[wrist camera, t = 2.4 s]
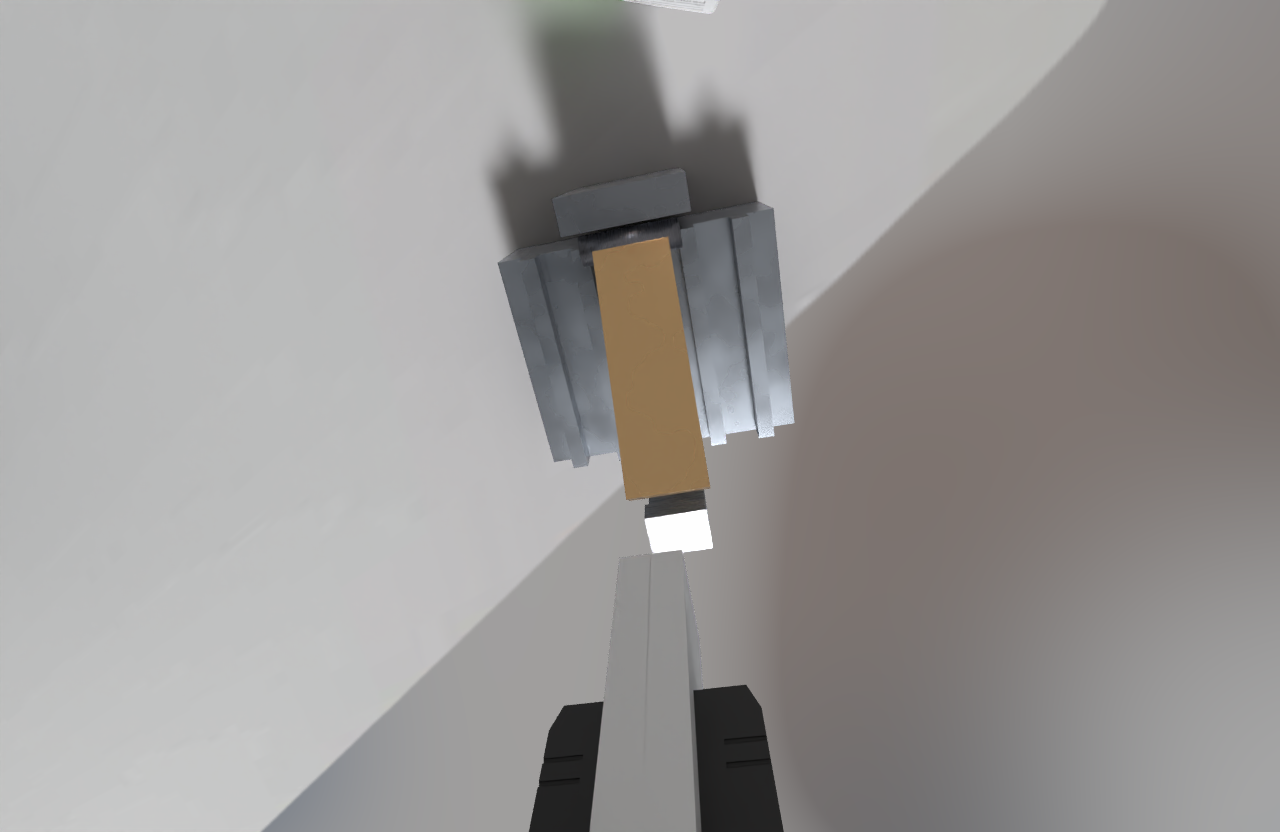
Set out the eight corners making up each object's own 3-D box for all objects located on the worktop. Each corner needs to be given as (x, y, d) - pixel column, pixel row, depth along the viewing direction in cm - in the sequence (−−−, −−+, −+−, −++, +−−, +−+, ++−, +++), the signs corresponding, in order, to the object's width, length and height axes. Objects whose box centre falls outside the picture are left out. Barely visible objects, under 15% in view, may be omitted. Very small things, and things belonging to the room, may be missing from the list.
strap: (617, 502, 22) (612, 501, 21) (583, 245, 24) (576, 231, 23) (723, 486, 22) (724, 484, 21) (679, 226, 24) (676, 210, 23)
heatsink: (571, 451, 34) (537, 572, 24) (504, 203, 29) (425, 229, 19) (781, 417, 33) (835, 530, 23) (752, 152, 27) (807, 149, 18)
